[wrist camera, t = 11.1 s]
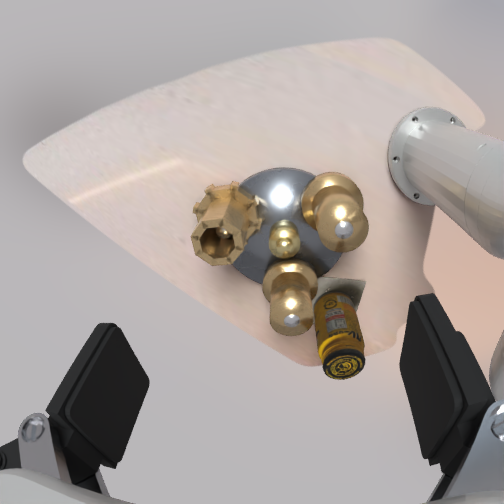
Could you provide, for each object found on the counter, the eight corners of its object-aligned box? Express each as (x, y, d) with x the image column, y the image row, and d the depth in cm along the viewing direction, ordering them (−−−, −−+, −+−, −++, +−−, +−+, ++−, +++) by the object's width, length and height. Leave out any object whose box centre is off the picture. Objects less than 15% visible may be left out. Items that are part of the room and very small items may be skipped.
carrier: (355, 159, 35) (379, 181, 27) (358, 289, 43) (373, 334, 35) (209, 177, 37) (189, 204, 29) (237, 302, 46) (229, 348, 38)
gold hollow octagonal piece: (255, 177, 36) (250, 200, 29) (264, 238, 39) (261, 273, 32) (191, 187, 37) (170, 211, 30) (204, 244, 40) (189, 279, 33)
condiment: (306, 322, 47) (311, 384, 36) (315, 276, 43) (326, 336, 32) (351, 324, 47) (365, 384, 36) (365, 279, 43) (387, 338, 32)
